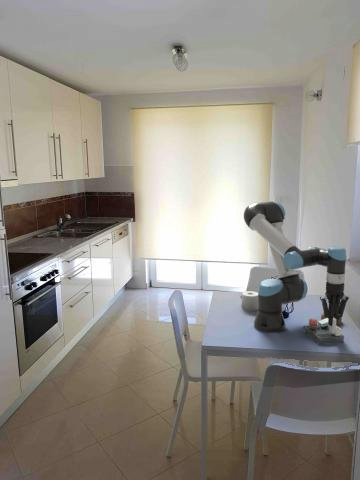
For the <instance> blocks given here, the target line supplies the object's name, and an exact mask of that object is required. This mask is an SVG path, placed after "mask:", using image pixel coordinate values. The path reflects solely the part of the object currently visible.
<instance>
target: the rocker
mask: <svg viewBox="0 0 360 480" xmlns="http://www.w3.org/2000/svg"><path fill="white" fill-rule="evenodd" d="M317 325H320V326H321V327H324V326H327V325H329V324H328V318H326V319H323V320H317Z"/></svg>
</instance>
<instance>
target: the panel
mask: <svg viewBox="0 0 360 480" xmlns="http://www.w3.org/2000/svg"><path fill="white" fill-rule="evenodd" d="M303 327H304V329H303V330H304V331H303V332H304V333H305V334H306V335H308V336H309V338H310V339H312V340H313V341H314V342H316V344H317V345H326V344H327V345H328V344H337V343H338V344H339V343H340V344H341V343H344V342H345V341H344V340H345V335H343V334H342V333H341V335H340V336H335V335H334V334H333V333H331V332H330V331H329V329H330V325H327V326H324V327H321V326H320V325H319V324H317V326H310V325H309V324H308V325H303Z"/></svg>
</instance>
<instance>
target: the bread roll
mask: <svg viewBox="0 0 360 480" xmlns="http://www.w3.org/2000/svg"><path fill="white" fill-rule="evenodd" d="M326 318H327V317H325V316H324V312H323V313H322V314H321V316H320V319H321V320H323V319H326ZM333 318H334V317H333ZM342 320H343V319H342V317H340V319H339V320H338V325H337V326H339V325H340V324H341V323H342V322H343V321H342Z"/></svg>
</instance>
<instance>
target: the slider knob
mask: <svg viewBox="0 0 360 480" xmlns="http://www.w3.org/2000/svg"><path fill="white" fill-rule="evenodd" d="M333 334H334V335H335V336H340V335H341V334H342V329H341V328H340V327H339V325H336V333H333Z"/></svg>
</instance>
